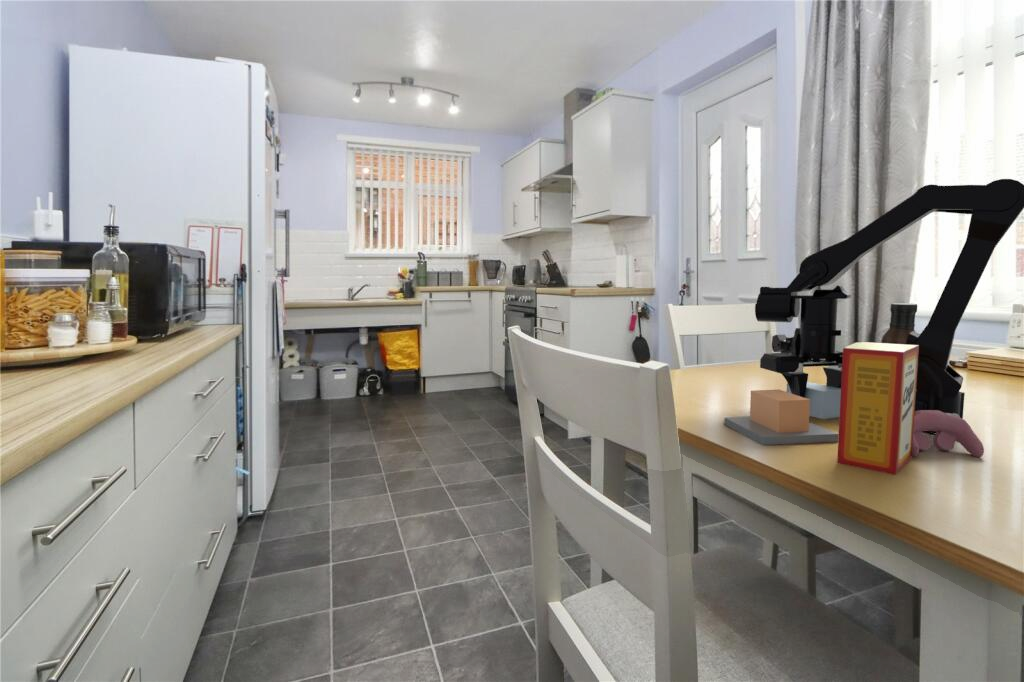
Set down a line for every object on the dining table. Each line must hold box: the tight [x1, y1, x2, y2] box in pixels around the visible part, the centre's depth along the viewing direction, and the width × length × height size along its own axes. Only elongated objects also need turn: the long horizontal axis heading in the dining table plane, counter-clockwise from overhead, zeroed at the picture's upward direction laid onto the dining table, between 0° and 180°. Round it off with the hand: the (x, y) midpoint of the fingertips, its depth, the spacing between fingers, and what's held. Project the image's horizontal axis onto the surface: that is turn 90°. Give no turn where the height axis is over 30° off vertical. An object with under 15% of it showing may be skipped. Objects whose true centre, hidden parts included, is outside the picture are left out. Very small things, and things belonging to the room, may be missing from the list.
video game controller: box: [911, 410, 985, 459], centre depth 75 cm, size 10×5×7 cm, turn 84°
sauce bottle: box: [880, 302, 918, 344], centre depth 101 cm, size 6×6×20 cm
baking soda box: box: [836, 341, 919, 476], centre depth 71 cm, size 10×6×16 cm
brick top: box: [785, 381, 841, 420], centre depth 98 cm, size 5×8×5 cm, turn 19°
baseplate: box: [723, 415, 839, 446], centre depth 86 cm, size 12×12×1 cm
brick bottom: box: [749, 389, 810, 433], centre depth 86 cm, size 5×8×5 cm, turn 6°
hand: (814, 407), depth 98 cm, fingers closed on brick top, 6 cm apart
